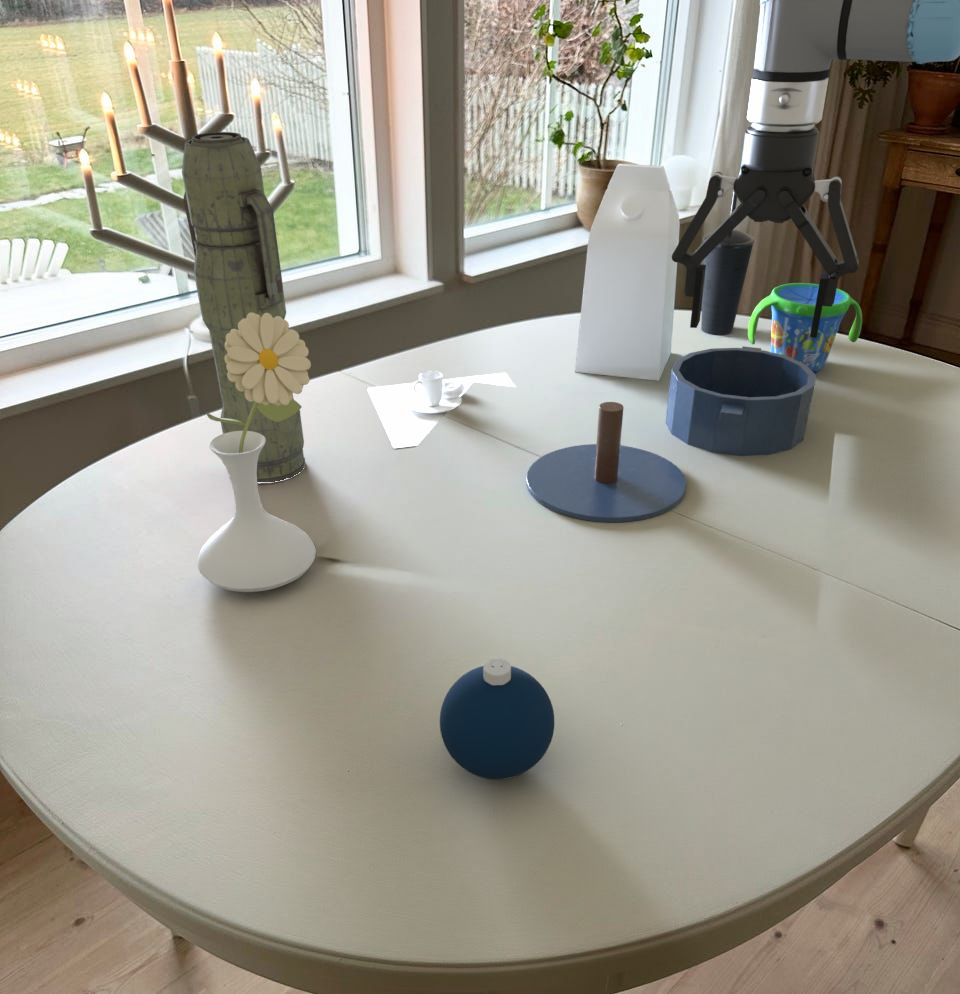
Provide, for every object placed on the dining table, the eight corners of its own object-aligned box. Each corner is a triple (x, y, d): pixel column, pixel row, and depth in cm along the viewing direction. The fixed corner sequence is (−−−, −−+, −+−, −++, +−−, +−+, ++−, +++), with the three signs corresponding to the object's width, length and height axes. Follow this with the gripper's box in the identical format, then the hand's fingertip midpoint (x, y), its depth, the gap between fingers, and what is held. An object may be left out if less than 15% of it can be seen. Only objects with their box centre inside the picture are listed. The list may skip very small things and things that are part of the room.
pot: (808, 404, 126) (820, 348, 121) (797, 478, 109) (810, 416, 105) (681, 389, 130) (687, 335, 126) (651, 458, 113) (657, 398, 109)
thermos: (255, 442, 118) (203, 124, 97) (330, 463, 113) (293, 133, 92) (204, 470, 112) (137, 138, 91) (281, 494, 107) (229, 148, 86)
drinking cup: (715, 318, 154) (733, 183, 142) (751, 331, 149) (774, 192, 137) (681, 328, 150) (697, 190, 138) (718, 341, 145) (738, 200, 133)
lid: (696, 464, 112) (707, 385, 106) (670, 538, 99) (681, 452, 93) (549, 444, 117) (552, 367, 111) (506, 512, 103) (506, 429, 97)
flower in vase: (210, 614, 88) (153, 349, 73) (192, 554, 97) (137, 306, 82) (347, 584, 92) (319, 326, 77) (318, 529, 101) (287, 287, 86)
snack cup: (842, 352, 141) (858, 282, 135) (862, 379, 133) (880, 305, 126) (735, 352, 142) (746, 281, 136) (748, 378, 133) (761, 305, 127)
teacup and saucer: (459, 389, 131) (458, 360, 128) (474, 412, 125) (473, 382, 122) (396, 396, 129) (394, 367, 127) (408, 419, 123) (406, 389, 121)
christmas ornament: (546, 724, 76) (550, 621, 70) (558, 801, 69) (564, 695, 63) (441, 727, 76) (436, 625, 70) (442, 805, 69) (437, 700, 63)
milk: (671, 352, 142) (692, 159, 126) (658, 380, 133) (680, 177, 117) (591, 344, 145) (603, 155, 129) (574, 371, 136) (585, 172, 120)
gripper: (657, 128, 100) (641, 330, 112) (911, 134, 93) (865, 348, 106) (669, 117, 106) (653, 310, 118) (910, 122, 99) (866, 327, 111)
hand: (753, 329), depth 112 cm, fingers open, 13 cm apart
